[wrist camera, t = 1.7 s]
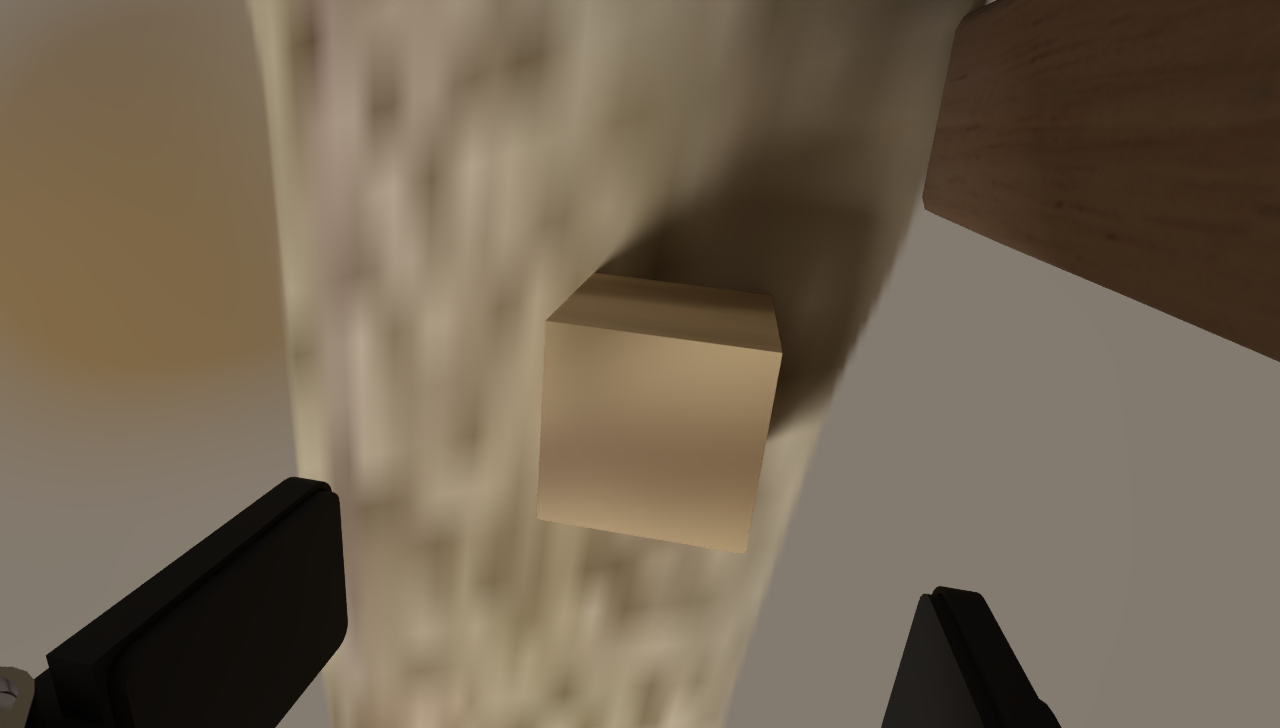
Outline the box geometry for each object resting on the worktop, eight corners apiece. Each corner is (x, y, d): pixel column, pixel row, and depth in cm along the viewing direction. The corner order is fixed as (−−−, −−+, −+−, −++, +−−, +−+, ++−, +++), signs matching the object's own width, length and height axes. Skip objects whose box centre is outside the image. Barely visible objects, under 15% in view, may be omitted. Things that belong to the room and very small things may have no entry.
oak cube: (594, 272, 18) (545, 320, 14) (771, 294, 18) (782, 352, 13) (584, 428, 20) (536, 519, 15) (743, 453, 19) (745, 554, 15)
